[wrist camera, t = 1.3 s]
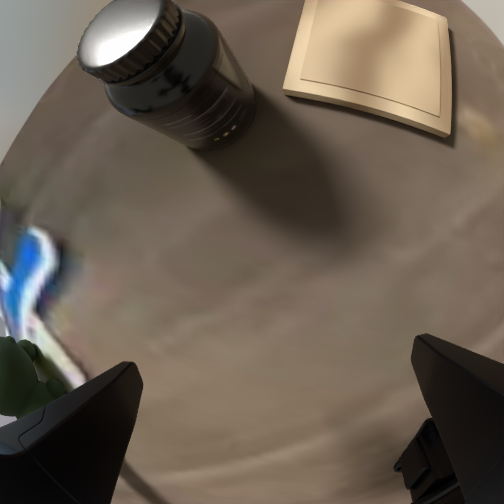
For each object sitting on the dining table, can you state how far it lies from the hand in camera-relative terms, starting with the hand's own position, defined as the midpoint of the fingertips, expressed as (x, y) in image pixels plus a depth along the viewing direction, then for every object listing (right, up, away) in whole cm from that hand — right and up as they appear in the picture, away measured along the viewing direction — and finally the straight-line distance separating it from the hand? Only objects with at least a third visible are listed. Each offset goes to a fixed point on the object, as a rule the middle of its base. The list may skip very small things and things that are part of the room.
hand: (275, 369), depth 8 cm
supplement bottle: (-3, +14, +12) cm, 19 cm away
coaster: (+9, +19, +8) cm, 22 cm away
